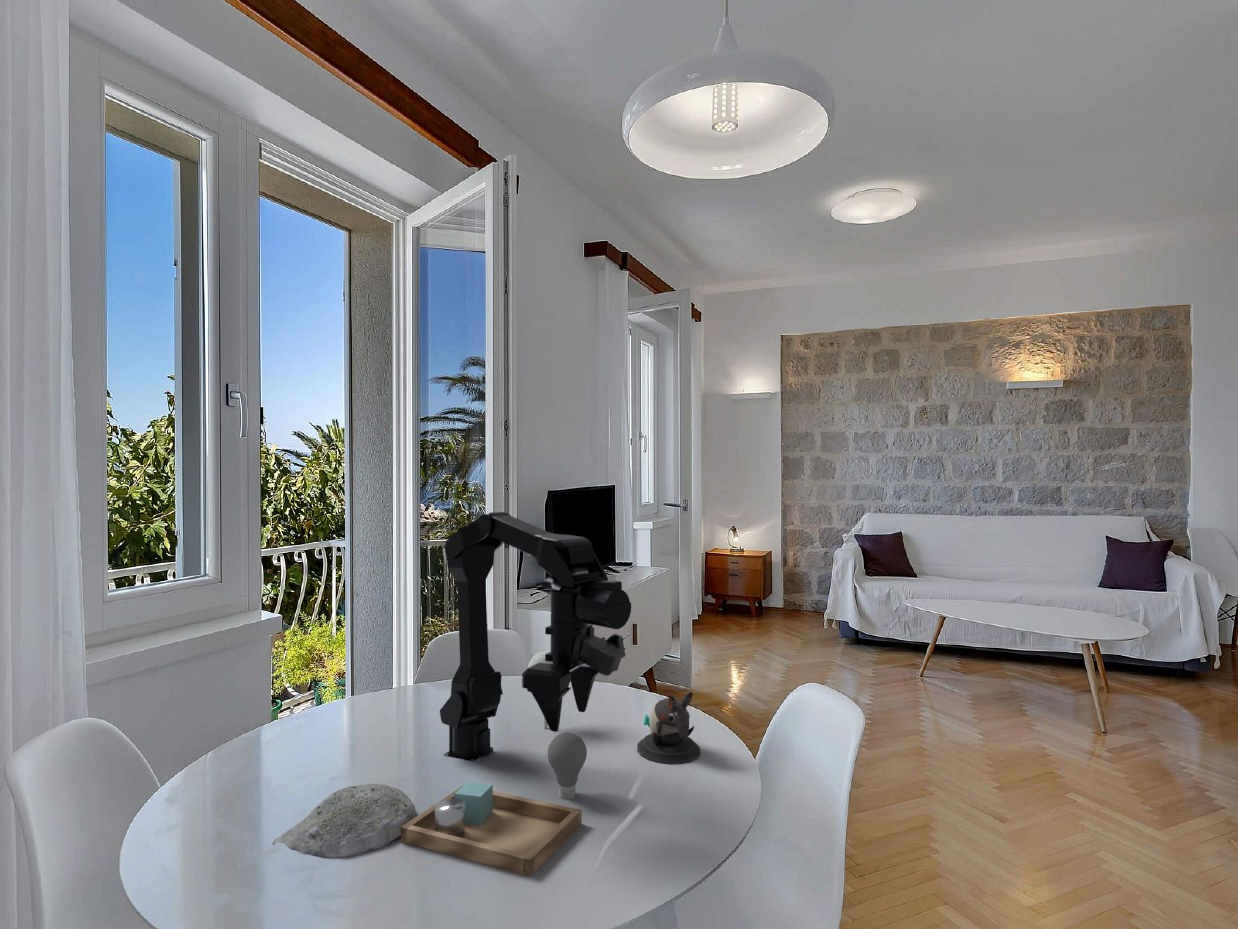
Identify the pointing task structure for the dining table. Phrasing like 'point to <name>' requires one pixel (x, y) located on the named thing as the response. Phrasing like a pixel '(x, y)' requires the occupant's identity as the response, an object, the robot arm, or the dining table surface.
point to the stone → (351, 822)
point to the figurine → (669, 733)
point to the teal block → (476, 801)
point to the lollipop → (540, 659)
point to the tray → (501, 833)
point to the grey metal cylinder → (450, 817)
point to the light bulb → (567, 761)
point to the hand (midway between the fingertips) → (568, 721)
